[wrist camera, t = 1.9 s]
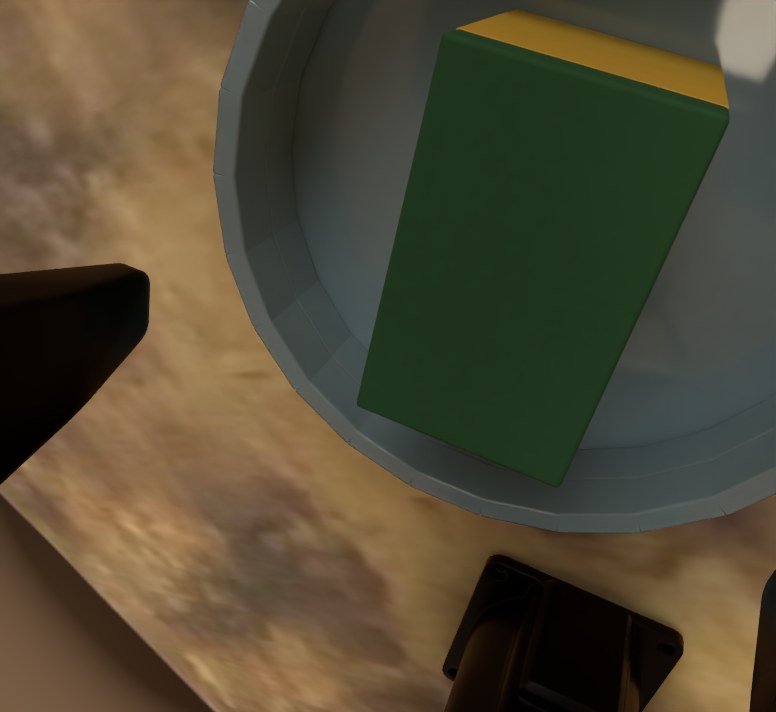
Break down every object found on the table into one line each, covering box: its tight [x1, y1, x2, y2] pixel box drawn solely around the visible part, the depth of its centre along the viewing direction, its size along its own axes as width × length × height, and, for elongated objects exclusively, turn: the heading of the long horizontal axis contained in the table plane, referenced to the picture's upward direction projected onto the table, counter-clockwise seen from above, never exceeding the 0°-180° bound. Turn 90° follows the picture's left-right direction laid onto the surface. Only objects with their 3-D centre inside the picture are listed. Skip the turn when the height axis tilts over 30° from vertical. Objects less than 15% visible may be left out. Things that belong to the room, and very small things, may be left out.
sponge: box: [357, 9, 730, 487], centre depth 15 cm, size 8×4×6 cm, turn 167°
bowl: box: [213, 0, 776, 533], centre depth 16 cm, size 15×15×4 cm
